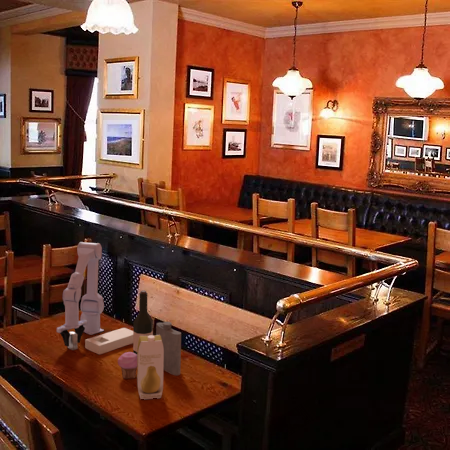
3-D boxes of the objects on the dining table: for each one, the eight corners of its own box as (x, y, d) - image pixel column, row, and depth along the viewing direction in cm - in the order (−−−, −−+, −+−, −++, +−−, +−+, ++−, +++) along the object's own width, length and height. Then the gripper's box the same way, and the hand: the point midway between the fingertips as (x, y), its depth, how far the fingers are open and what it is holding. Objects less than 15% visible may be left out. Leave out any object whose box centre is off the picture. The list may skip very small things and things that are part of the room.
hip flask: (181, 374, 245) (182, 327, 241) (173, 376, 242) (174, 329, 239) (160, 361, 257) (161, 316, 253) (152, 363, 254) (153, 318, 251)
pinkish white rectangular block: (67, 347, 268) (67, 332, 266) (72, 346, 270) (71, 331, 268) (72, 350, 265) (72, 335, 264) (77, 348, 267) (77, 333, 266)
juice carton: (138, 401, 221) (138, 339, 216) (136, 391, 228) (136, 331, 224) (163, 399, 223) (164, 338, 218) (161, 389, 230) (161, 330, 226)
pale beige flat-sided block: (85, 348, 268) (85, 339, 267) (124, 335, 284) (124, 327, 283) (99, 354, 261) (99, 345, 261) (138, 341, 278) (138, 333, 277)
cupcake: (118, 382, 236) (118, 358, 234) (117, 372, 244) (117, 349, 242) (141, 380, 238) (141, 357, 236) (139, 371, 246) (139, 348, 244)
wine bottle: (129, 359, 257) (129, 291, 252) (140, 352, 265) (141, 287, 259) (145, 363, 254) (145, 295, 248) (156, 356, 261) (157, 290, 255)
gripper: (63, 321, 256) (63, 351, 259) (91, 313, 267) (91, 342, 270) (53, 316, 261) (54, 346, 264) (81, 309, 272) (81, 338, 274)
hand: (72, 344), depth 267 cm, fingers open, 5 cm apart
